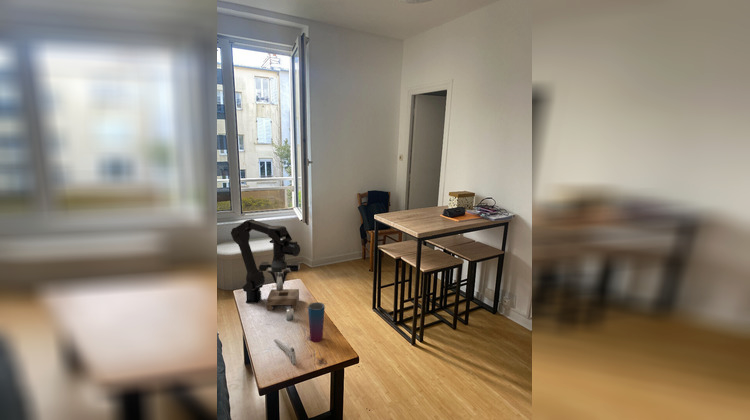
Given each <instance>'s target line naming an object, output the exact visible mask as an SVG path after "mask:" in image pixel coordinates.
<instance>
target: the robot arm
mask: <svg viewBox="0 0 750 420" xmlns="http://www.w3.org/2000/svg"><path fill="white" fill-rule="evenodd" d="M251 231H256V232H258V233H262V234H265V235H267V236H268V238H269V239H270V240H269V242H268V243H270V244H272V252H273V254H272V261H271V264H270V262H269V261H261V262H260V264H259V265H258V267H257V264H256V260H255V257H254V254H253V251H252V248H251V245H250V242H249V241H250V238H251V235H250V232H251ZM230 235H231V238H232V240H233V242H235V243H236V244H237V245H238V247H239V251H240V253H241V257H242V260H243V263H244V266H245V268H246V277H245V282H246V283H245V284H244V285H243V286H242V291H243V292H245V294H246V295H245V296H246V300H245V304H259V303H260V301H261V299H262V290H261V289H262V288H263V286H264V284H265V281H266V277H265V276H264V272H266V271H267V273H270V275H271V276H272V278H273V281H274V283H275V285H276V272H279V273H281V272H283V285H284V284H285V281H286V278H287V275H288V274H290V273H291V272H299V270H300V268H301V264H300V262H298V261H297V262H293V261H291V263H290V264H288V262H287V261H286V260H287V258H286V256H287V255H288V256H292V257H297V256H299V254H300V252H301V246H300V245H299V244H298V241H296V240H295V241H294V240H293V238H292V237H291V234H290V233H289V231H288V230H287V227H286V226H284V225H270V224H268V223H264V222H261V221H258V220H255V219H254V218H253V219H252V218H251V219H245V220H244V221H243V222H242V223H240V224H239V225H237V226H236V227H233V228H232V229H231V231H230Z"/></svg>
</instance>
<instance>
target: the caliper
mask: <svg viewBox="0 0 750 420" xmlns="http://www.w3.org/2000/svg"><path fill="white" fill-rule="evenodd" d="M273 341H274V343H275V344H276V345H277V346H278V347H280V348H281V349H282V350H283V351H284V352H285V354H286V355H287V356H289V360H290V364H292V365H293V366H294V365H296V364H297V362H296V361H297V359H296V357H297V356H296V351H295V347H293V346H292V347H290V346H287V345H286V344H284V343H283V342H282V341H281V340H280V339H278V338H275V339H273Z"/></svg>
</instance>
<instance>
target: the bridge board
mask: <svg viewBox="0 0 750 420" xmlns="http://www.w3.org/2000/svg"><path fill="white" fill-rule="evenodd" d="M299 301H300V289H298V288H295V289H294V288H292V289H291V288H289V289H287V288H285V289H284V288H283V291H280V292H278V291H276V289H274V288H272V289H270V291H269V294H268V296H267V298H266V311H267V312H272V311H273V308H274V306H289V305H290V306H291V308H293V309H294V312H296V311H297V310H298V306H299Z"/></svg>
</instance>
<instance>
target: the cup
mask: <svg viewBox="0 0 750 420" xmlns="http://www.w3.org/2000/svg"><path fill="white" fill-rule="evenodd" d="M325 307H326V305H325V303H323V302H320V301H318V302H317V301H315V302H311V303H309V304H308V306H307V310H308V326H309V327H308V329H309V339H310V341H311V342H313V343H319V342H322V340H323V334H324V322H325V321H324V318H325Z"/></svg>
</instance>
